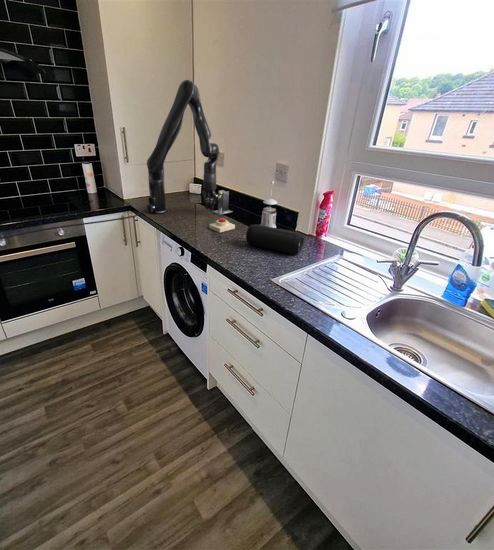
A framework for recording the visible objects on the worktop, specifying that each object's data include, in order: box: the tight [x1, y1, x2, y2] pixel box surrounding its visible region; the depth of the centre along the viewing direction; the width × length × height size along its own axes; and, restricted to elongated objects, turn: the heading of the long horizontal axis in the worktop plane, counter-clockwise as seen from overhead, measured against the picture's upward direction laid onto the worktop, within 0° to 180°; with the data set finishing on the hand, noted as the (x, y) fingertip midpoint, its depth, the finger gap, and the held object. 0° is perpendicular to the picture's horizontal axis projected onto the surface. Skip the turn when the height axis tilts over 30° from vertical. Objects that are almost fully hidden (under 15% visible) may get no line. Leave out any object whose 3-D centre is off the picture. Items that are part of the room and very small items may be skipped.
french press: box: [259, 180, 278, 228], centre depth 168 cm, size 10×12×25 cm
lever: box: [207, 191, 226, 209], centre depth 186 cm, size 15×3×3 cm, turn 131°
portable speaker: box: [245, 223, 305, 255], centre depth 143 cm, size 26×10×10 cm, turn 61°
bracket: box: [212, 189, 234, 215], centre depth 190 cm, size 10×8×14 cm
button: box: [218, 217, 227, 223], centre depth 167 cm, size 4×4×2 cm
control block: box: [208, 219, 236, 233], centre depth 168 cm, size 11×9×4 cm
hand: (209, 209), depth 185 cm, fingers open, 3 cm apart
